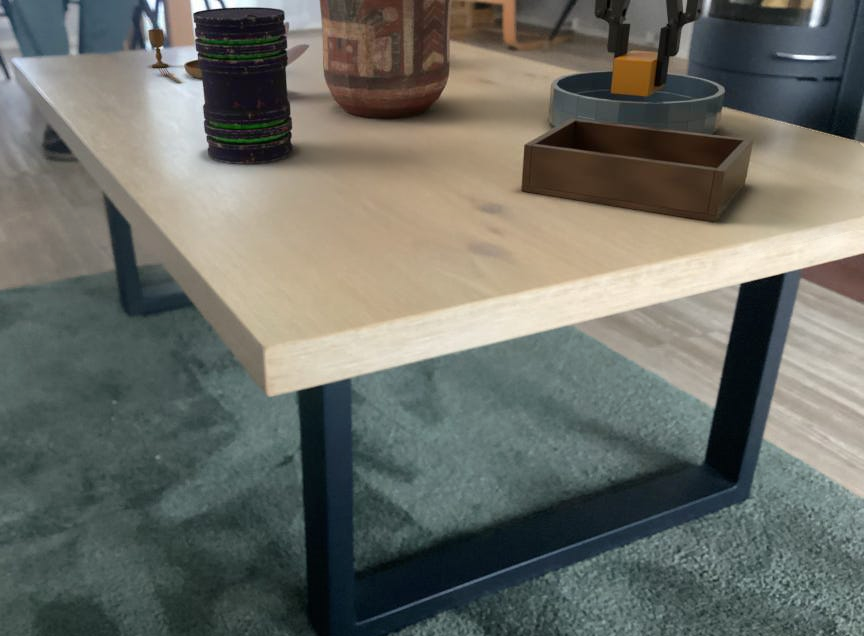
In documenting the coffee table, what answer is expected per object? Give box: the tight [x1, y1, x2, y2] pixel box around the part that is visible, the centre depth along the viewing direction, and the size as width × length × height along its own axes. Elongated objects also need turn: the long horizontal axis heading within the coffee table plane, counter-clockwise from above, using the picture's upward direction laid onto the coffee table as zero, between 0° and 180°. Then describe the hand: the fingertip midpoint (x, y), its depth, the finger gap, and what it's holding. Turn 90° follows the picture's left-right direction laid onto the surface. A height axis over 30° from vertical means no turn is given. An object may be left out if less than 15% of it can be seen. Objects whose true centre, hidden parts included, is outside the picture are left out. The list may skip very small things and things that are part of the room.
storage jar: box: [192, 6, 294, 165], centre depth 95 cm, size 10×10×15 cm
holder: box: [520, 118, 754, 223], centre depth 84 cm, size 19×13×5 cm
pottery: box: [319, 0, 453, 119], centre depth 114 cm, size 18×18×18 cm
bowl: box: [547, 69, 726, 135], centre depth 107 cm, size 20×20×5 cm
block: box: [611, 50, 664, 97], centre depth 105 cm, size 4×7×4 cm, turn 149°
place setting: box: [148, 28, 202, 83], centre depth 144 cm, size 18×20×6 cm
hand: (638, 82), depth 105 cm, fingers closed on block, 4 cm apart
